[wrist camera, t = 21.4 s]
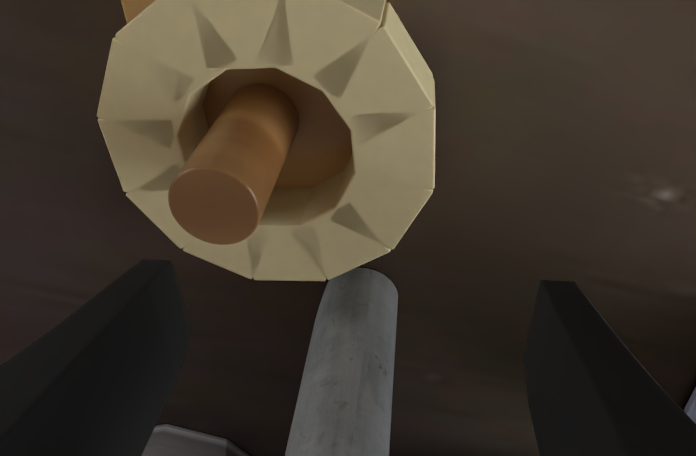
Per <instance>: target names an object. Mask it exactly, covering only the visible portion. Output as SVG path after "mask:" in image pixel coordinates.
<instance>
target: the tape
mask: <svg viewBox="0 0 696 456" xmlns="http://www.w3.org/2000/svg"><path fill="white" fill-rule="evenodd" d="M385 2H386V0H155V1H154V2H153V3H152V4H150V5H149V6H148V7H147V8H146V9H145V10H143V11H142V12H141V13H140V14H139V15H137V16H136V17H135V18H134V19H133V20H132V21H130V22H129V23H128V24H127V25H126V26H124V27H123V28H122V29H121V30H120V31H119V32H117V33H116V35H115V36H116V37H114V38H113V39H112V43H111V48H110V53H109V58H108V63H107V68H106V72H105V77H104V82H103V87H102V92H101V96H100V101H99V106H98V111H97V117H99V118H98V123H99V126H100V128H101V131H102V134H103V136H104V139H105V142H106V145H107V147H108V150H109V153H110V156H111V158H112V161H113V164H114V166H115V169H116V172H117V175H118V177H119V180H120V183H121V185H122V188H123V191H124V192H127V193H126V196H127V197H128V198H129V199H130V200H131V201H132V202H133V203H134V204H135V205H136V206H137V207H138V208H139V209H140V210H141V211H142V212H143V213H144V214H145V215H146V216H147V217H148V218H149V219H150V220H151V221H152V222H153V223H154V224H155V225H156V226H157V227H158V228H159V229H160V230H161V231H162V232H163V233H164V234H165V235H166V236H167V237H168V238H169V239H170V240H171V241H172V242H174V243H175V244H176V245H177V246H178V247H179V248H180V249H181V248H183V251H185V252H187V253H189V254H192V255H194V256H197V257H199V258H201V259H204V260H206V261H208V262H211V263H213V264H215V265H218V266H220V267H223V268H225V269H227V270H230V271H232V272H234V273H237V274H239V275H242V276H244V277H246V278H249V279H252V278H254V280H275V281H325V280H326V278H327V279H328V280H330V279H332V278H334V277H336V276H339V275H341V274H343V273H345V272H347V271H349V270H352V269H354V268H356V267H358V266H360V265H363V264H365V263H367V262H369V261H371V260H373V259H376V258H378V257H380V256H382V255H384V254H387V253H389V252H390V251H391V249H394V248H395V246H396V245H397V244H398V242H399V241H400V239H401V238H402V236H403V235H404V233H405V232H406V231H407V229H408V228H409V226H410V225H411V223H412V222H413V220H414V219H415V218H416V216H417V215H418V213H419V212H420V210H421V209H422V207H423V206H424V205H425V203H426V202H427V200H428V199H429V197H430V196H431V195H432V193H433V189H434V187H435V118H436V108H435V83H434V79H433V74H432V72H431V70H430V69H429V67H428V65H427V64H426V62H425V60H424V59H423V57H422V55H421V54H420V52H419V50H418V49H417V47H416V46H415V44H414V42H413V41H412V39H411V37H410V36H409V34H408V32H407V31H406V29H405V27H404V26H403V24H402V22H401V21H400V19H399V17H398V16H397V14H396V12H395V11H394V9H393V7H392V6H391V4H390V3H389V2H387V3H385ZM256 68H277V69H279V70H281V71H283V72H285V73H287V74H289V75H291V76H293V77H295V78H297V79H299V80H301V81H303V82H305V83H307V84H309V85H311V86H313V87H315V88H317V89H319V90H321V91H323V93H324V94H325V95H326V97H327V98H328V100H329V101H330V102H331V104H332V105H333V107H334V108H335V109H336V111H337V112H338V114H339V115H340V116H341V118H342V119H343V120H344V122H345V123H346V125H347V126H348V127H349V129H350V130H351V141H352V153H353V154H352V156H351V158H350V160H349V161H348V163H347V165H346V167H345V169H344V170H343V171H342V172H340V173H338V174H336V175H335V176H333V177H331V178H329V179H327V180H326V181H324V182H322V183H320V184H318V185H316V186H315V187H313V188H273V191H272V193H271V195H270V198H269V200H268V203H267V205H266V207H265V210H264V212H263V215H262V217H261V219H260V222H259V224H258V226H257V228H256V230H255V231H254V232H253V233H252V235H250V236H249V237H248V238H246V239H245V240H243V241H241V242H238V243H235V244H229V245H217V244H211V243H208V242H204V241H202V240H199V239H197V238H196V237H194V236H192V235H191V234H189V233H188V232H187V231H185V230H184V229H183V228H182V227H181V226H180V225H179V224H178V222H177V221H176V220H175V218H174V217H173V215H172V213H171V210H170V207H169V202H168V192H169V188H170V185H171V183H172V181H173V180H174V178H175V177H176V175H177V174H178V173H179V171H180V170H181V168H182V167H183V166H184V164H185V163H186V161H187V160H188V158H189V157H190V156H191V154H192V153H193V151H194V150H195V149H196V147H197V146H198V144H199V143H200V142H201V140H202V139H203V137H204V136H205V135H206V133H207V132H208V130H209V129H208V124H207V120H206V116H205V112H204V108H203V102H204V99H205V96H206V93H207V90H208V87H209V84H210V81H211V80H213V79H214V78H216V77H217V76H218V75H220V74H221V73H223V72H224V71H225V70H231V69H256Z"/></svg>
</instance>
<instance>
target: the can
mask: <svg viewBox="0 0 696 456" xmlns="http://www.w3.org/2000/svg"><path fill="white" fill-rule="evenodd" d="M141 456H250V455H248V454H247V453H245V452H244V451H243V450H241V449H240V448H238V447H237V446H236V445H234V444H233V443H232V442H230V441H229V440H227V439H225V438H221V437H217V436H213V435H209V434H205V433H201V432H197V431H193V430H189V429H185V428H181V427H177V426H173V425H169V424H163V425H157V426H155V428H154V430H153V432H152V434H151V436H150V438H149V440H148V443H147V445H146V447H145V449H144V451H143V453H142V455H141Z"/></svg>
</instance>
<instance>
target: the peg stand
mask: <svg viewBox="0 0 696 456" xmlns="http://www.w3.org/2000/svg"><path fill="white" fill-rule="evenodd" d="M154 1H155V0H121V3H122V7H123V11H124V15H125V19H126V22H127V24H128V23H129V22H130V21H132V20H133V19H134V18H135V17H136V16H137V15H139V14H140V13H141V12H142V11H143V10H145V9H146V8H147V7H148V6H149V5H150V4H152V3H153V2H154ZM385 3H386V2H385ZM203 108H204V112H205V116H206V120H207V124H208V129H209V130H208V132H207V133H206V135H205V136H204V137H203V139H202V140H201V142H200V143H199V144H198V146H197V147H196V149H195V150H194V151H193V153H192V154H191V156H190V157H189V158H188V160H187V161H186V163H185V164H184V166H183V167H182V168H181V170H180V171H179V173H178V174H177V175H176V177H175V178H174V180H173V181H172V183H171V185H170V188H169V192H168V202H169V207H170V210H171V213H172V215H173V217H174V218H175V220H176V221H177V222H178V224H179V225H180V226H181V227H182V228H183V229H184V230H185V231H187V232H188V233H189V234H191V235H192V236H194V237H196V238H197V239H199V240H202V241H204V242H208V243H211V244H217V245H229V244H235V243H238V242H241V241H243V240H245V239H246V238H248V237H249V236H250V235H252V233H253V232H254V231H255V230H256V228H257V226H258V224H259V222H260V219H261V217H262V215H263V212H264V210H265V207H266V205H267V203H268V200H269V198H270V195H271V193H272V191H273V188H313V187H315V186H316V185H318V184H320V183H322V182H324V181H326V180H327V179H329V178H331V177H333V176H335V175H336V174H338V173H340V172H342V171H343V170H344V169H345V167H346V165H347V163H348V161H349V160H350V158H351V156H352V154H353V153H352V141H351V130H350V129H349V127H348V126H347V125H346V123H345V122H344V120H343V119H342V118H341V116H340V115H339V114H338V112H337V111H336V109H335V108H334V107H333V105H332V104H331V102H330V101H329V100H328V98H327V97H326V95H325V94H324V93H323V91H321V90H319V89H317V88H315V87H313V86H311V85H309V84H307V83H305V82H303V81H301V80H299V79H297V78H295V77H293V76H291V75H289V74H287V73H285V72H283V71H281V70H279V69H277V68H256V69H231V70H225V71H224V72H223V73H221V74H220V75H218V76H217V77H216V78H214V79H213V80H211V81H210V84H209V87H208V90H207V93H206V96H205V99H204V102H203Z"/></svg>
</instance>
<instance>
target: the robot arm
mask: <svg viewBox="0 0 696 456" xmlns="http://www.w3.org/2000/svg"><path fill="white" fill-rule="evenodd" d="M190 336H191V330H190V326H189V322H188V319H187V315H186V311H185V308H184V304H183V300H182V297H181V293H180V289H179V286H178V282H177V278H176V275H175V271H174V267H173V264H172V261H163V260H144V259H143V260H142V261H140V262H139V263H137V264H136V265H135V266H133V267H132V268H131V269H129V270H128V271H127V272H125V273H124V274H123V275H121V276H120V277H119V278H118V279H116V280H115V281H114V282H112V283H111V284H110V285H109V286H107V287H106V288H105V289H104V290H102V291H101V292H100V293H98V294H97V295H96V296H95V297H93V298H92V299H91V300H89V301H88V302H87V303H86V304H84V305H83V306H82V307H80V308H79V309H78V310H77V311H75V312H74V313H73V314H71V315H70V316H69V317H67V318H66V319H65V320H64V321H62V322H61V323H60V324H58V325H57V326H56V327H54V328H53V329H52V330H50V331H49V332H47V333H46V334H45V335H43V336H42V337H40V338H39V339H38V340H36V341H35V342H33V343H32V344H31V345H29V346H28V347H26V348H25V349H24V350H22V351H21V352H19V353H18V354H17V355H15V356H14V357H12V358H11V359H9V360H8V361H7V362H5V363H4V364H2V365H1V366H0V456H141V455H142V453H143V451H144V449H145V447H146V445H147V443H148V440H149V438H150V436H151V434H152V432H153V430H154V428H155V426H156V423H157V421H158V419H159V417H160V415H161V413H162V411H163V408H164V406H165V404H166V402H167V400H168V398H169V395H170V393H171V391H172V389H173V387H174V384H175V382H176V380H177V377H178V374H179V371H180V368H181V365H182V362H183V359H184V356H185V353H186V349H187V346H188V343H189V339H190ZM524 364H525V375H526V385H527V393H528V402H529V408H530V412H531V417H532V421H533V426H534V430H535V435H536V439H537V444H538V448H539V452H540V456H696V387H695V389H694V391H693V393H692V395H691V397H690V399H689V401H688V403H687V404H686V406H685V408H684V410H682V409H681V408H680V407H679V406H678V405H677V404H676V403H675V402H674V400H673V399H672V398H671V397H670V396H669V395H668V394H667V393H666V392H665V391H664V390H663V388H662V387H661V386H660V385H659V384H658V383H657V382H656V381H655V380H654V378H653V377H652V376H651V375H650V374H649V373H648V371H647V370H646V369H645V368H644V367H643V366H642V364H641V363H640V362H639V361H638V360H637V359H636V357H635V356H634V355H633V354H632V353H631V352H630V350H629V349H628V348H627V347H626V346H625V344H624V343H623V342H622V341H621V340H620V338H619V337H618V336H617V335H616V333H615V332H614V331H613V330H612V328H611V327H610V326H609V325H608V323H607V322H606V321H605V320H604V318H603V317H602V316H601V314H600V313H599V312H598V311H597V309H596V308H595V307H594V305H593V304H592V303H591V302H590V300H589V299H588V298H587V296H586V295H585V294H584V292H583V291H582V290H581V289H580V287H579V286H578V285H577V284H576V283H575V282H568V281H549V280H541V281H540V285H539V290H538V294H537V298H536V303H535V307H534V312H533V316H532V320H531V325H530V329H529V333H528V338H527V342H526V346H525V351H524Z"/></svg>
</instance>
